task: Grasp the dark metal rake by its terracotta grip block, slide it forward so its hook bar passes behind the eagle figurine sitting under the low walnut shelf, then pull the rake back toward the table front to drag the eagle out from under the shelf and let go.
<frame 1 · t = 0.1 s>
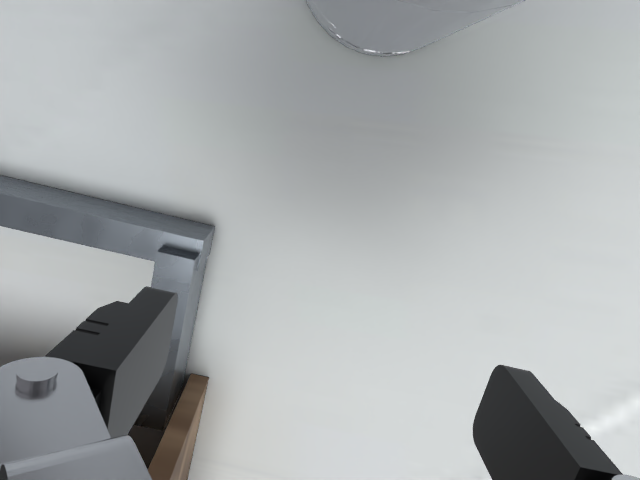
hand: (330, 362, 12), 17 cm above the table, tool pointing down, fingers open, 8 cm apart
shelf: (69, 442, 33), on the table
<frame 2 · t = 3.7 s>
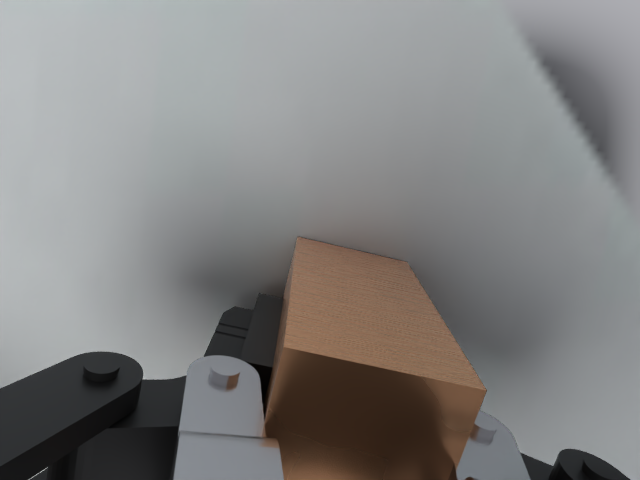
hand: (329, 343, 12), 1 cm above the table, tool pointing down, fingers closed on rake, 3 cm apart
rake: (329, 333, 13), on the table, touching gripper
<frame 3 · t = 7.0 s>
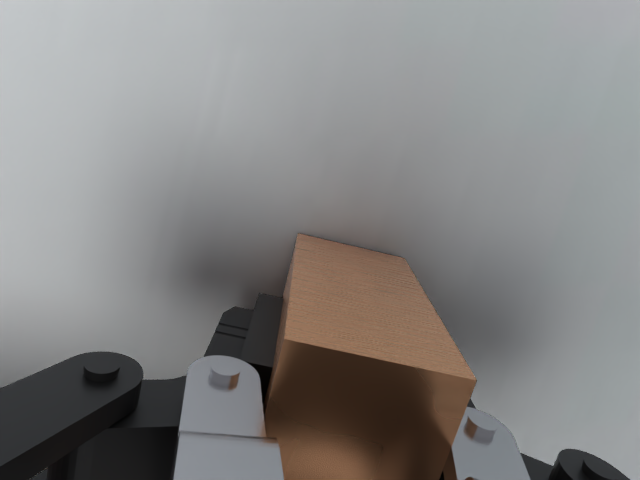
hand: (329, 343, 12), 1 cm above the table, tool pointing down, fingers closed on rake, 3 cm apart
rake: (329, 327, 13), on the table, touching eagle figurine, gripper
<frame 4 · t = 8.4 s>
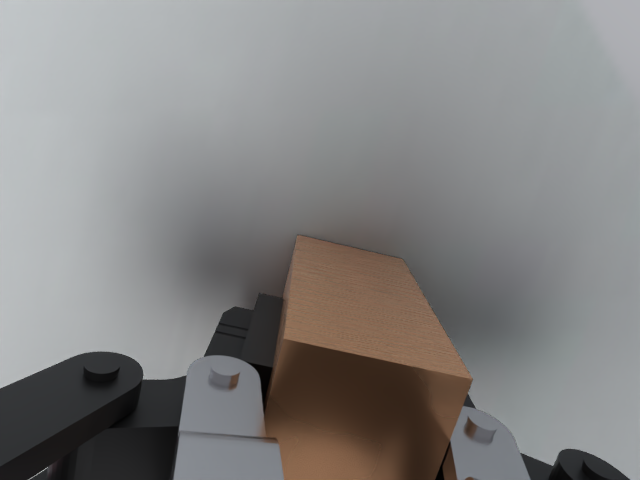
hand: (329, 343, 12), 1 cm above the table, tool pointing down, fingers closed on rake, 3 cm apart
rake: (328, 327, 14), on the table, touching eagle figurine, gripper
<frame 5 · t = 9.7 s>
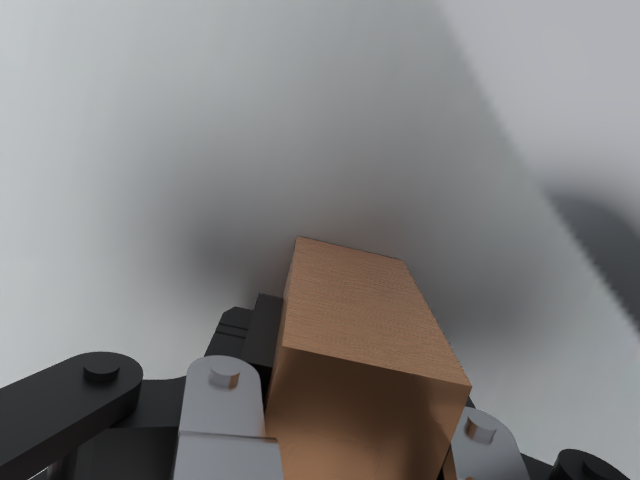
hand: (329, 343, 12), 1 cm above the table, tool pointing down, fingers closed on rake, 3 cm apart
rake: (328, 328, 14), on the table, touching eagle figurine, gripper
when the fingers open (1 cm above the table, at t = 10.7 s): rake stays where it is, on the table.
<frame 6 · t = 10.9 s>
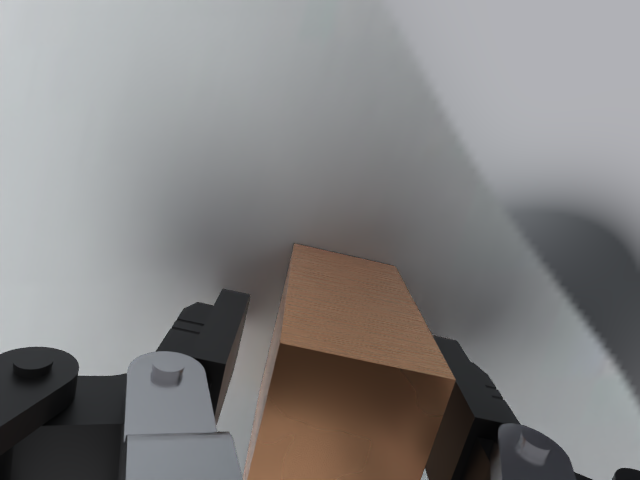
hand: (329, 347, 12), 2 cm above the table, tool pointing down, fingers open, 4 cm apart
rake: (324, 332, 14), on the table
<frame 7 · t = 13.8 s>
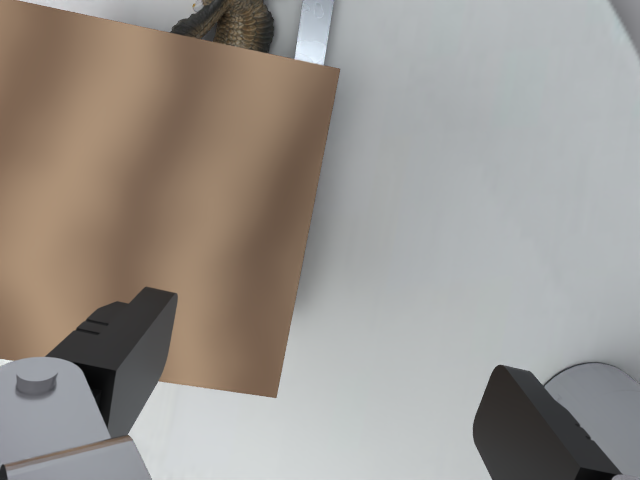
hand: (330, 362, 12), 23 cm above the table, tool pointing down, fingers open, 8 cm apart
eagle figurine: (225, 23, 31), on the table
shelf: (198, 186, 33), on the table
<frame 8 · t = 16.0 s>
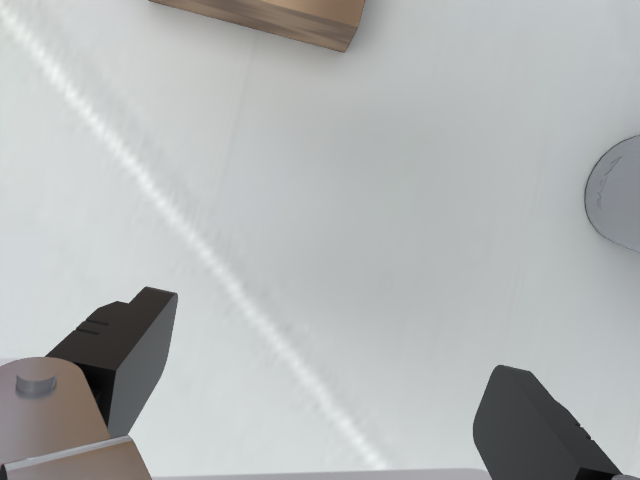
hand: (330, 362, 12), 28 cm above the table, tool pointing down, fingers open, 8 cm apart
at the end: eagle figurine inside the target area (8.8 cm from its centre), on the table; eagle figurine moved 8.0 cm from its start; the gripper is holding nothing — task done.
